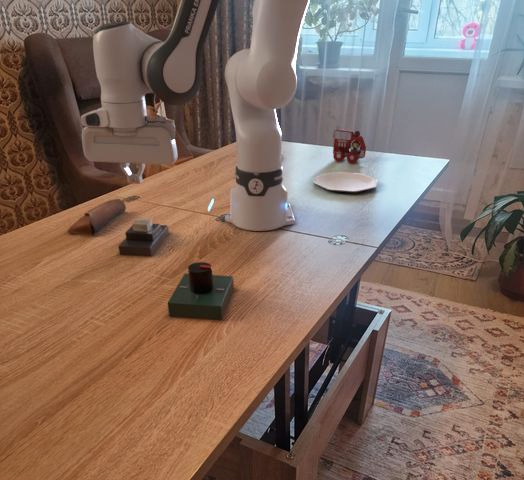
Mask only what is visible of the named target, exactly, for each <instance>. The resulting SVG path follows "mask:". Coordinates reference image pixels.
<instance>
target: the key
mask: <svg viewBox="0 0 524 480" xmlns="http://www.w3.org/2000/svg"><path fill="white" fill-rule="evenodd" d="M153 224H154V223H153V219H152V218H139V217H138V218H136V219H135V220H134V221H133V222H132V225H133V231H141V232H149V231H150V230H151V229H152V228H153ZM132 225H131V226H132Z"/></svg>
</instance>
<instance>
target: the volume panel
mask: <svg viewBox="0 0 524 480" xmlns="http://www.w3.org/2000/svg"><path fill="white" fill-rule="evenodd" d="M212 276H213V290H212V291H211V292H209V293H205V294H196V293H193V292H192V291H191V290H190V282H189V273H184V274H183V276H182V277H181V279H180V281H179V282H178V284H177V286H176V287H175V289H174V291H173V292H172V295H171V296H170V298H169V300H168V301H167V309H168V316H169V317H170V318H184V319H198V320H199V319H200V320H214V321H215V320H216V321H223V318H224V316H225V313H226V311H227V308H228V305H229V303H230V300H231V297H232V295H233V292H234V290H235V288H234V287H235V286H234V285H235V284H234V276H233V275H232V276H231V275H221V274H220V275H219V274H218V275H217V274H212Z"/></svg>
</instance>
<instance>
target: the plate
mask: <svg viewBox="0 0 524 480" xmlns="http://www.w3.org/2000/svg"><path fill="white" fill-rule="evenodd" d="M378 182H379V179H377V178H375V177H372V176H370V175H368V174H364V173H361V172H349V171H333V172H328V173H322V174H321V173H320V174H318V175H316V177H315V179H314V180H313V185H315V186H318V187H320V188H322V189H324V190H326V191H329V192H340V193H341V192H342V193H352V194H353V193H360V192H365V191H370V190H375V189H376V188H377V186H378Z"/></svg>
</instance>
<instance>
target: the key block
mask: <svg viewBox="0 0 524 480" xmlns="http://www.w3.org/2000/svg"><path fill="white" fill-rule="evenodd" d="M152 224H153V228H152V229H151V230H150V231H149V232H141V231H133V225H131V226H130V227H129V228H128V229H127V230H126V231H125V238H124V240H123V241H122V242H120V244H119V245H118V246H117V248H118V251H119V255H120V256H131V257H132V256H134V257H149V258H150V257H152V256H153V255H154V254H155V253H156V251H157V250H158V249H159V247H160V246H161V245H162V243H163V242H164V241H165V239H167V237H168V235H169V234H170V232H169V231H170V229H169V225H168V224H161V223H152Z"/></svg>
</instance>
